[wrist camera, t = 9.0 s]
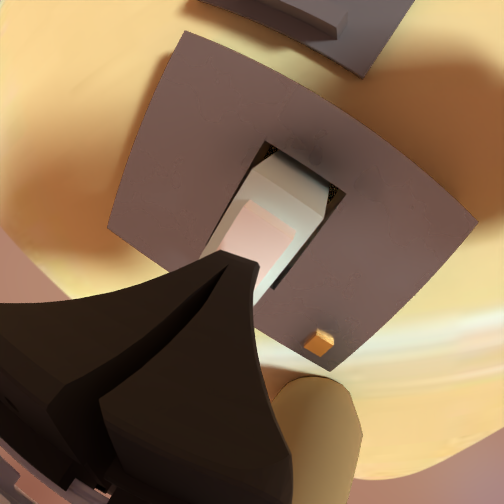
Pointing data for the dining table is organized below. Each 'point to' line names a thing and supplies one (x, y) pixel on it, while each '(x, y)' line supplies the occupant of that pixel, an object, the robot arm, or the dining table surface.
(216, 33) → the dining table surface
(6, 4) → the dining table surface
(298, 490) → the squeeze bottle
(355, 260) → the port block
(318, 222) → the plug
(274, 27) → the dark grey holder base
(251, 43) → the dining table surface
